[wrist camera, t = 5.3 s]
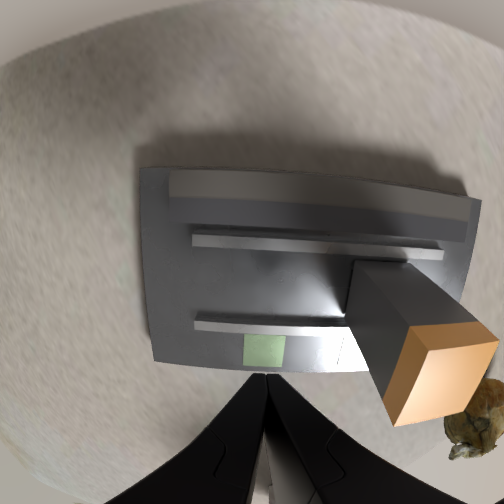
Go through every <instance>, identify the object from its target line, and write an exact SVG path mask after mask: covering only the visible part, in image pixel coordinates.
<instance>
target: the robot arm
mask: <svg viewBox="0 0 504 504" xmlns="http://www.w3.org/2000/svg"><path fill="white" fill-rule="evenodd" d="M263 433H264V437H265V444H266V450H267V456H268V462H269V467H270V473H271V479H272V485H273V490H274V496H275V502H276V504H467V503H465V502H463V501H460V500H458V499H456V498H454V497H452V496H450V495H448V494H446V493H444V492H442V491H440V490H438V489H436V488H434V487H432V486H430V485H428V484H426V483H424V482H423V481H421V480H418V479H417V478H415V477H413V476H412V475H410V474H408V473H406V472H404V471H403V470H401V469H399V468H397V467H396V466H394V465H392V464H391V463H389V462H387V461H386V460H384V459H382V458H381V457H379V456H377V455H376V454H374V453H373V452H371V451H370V450H368V449H366V448H365V447H364V446H362V445H361V444H359V443H358V442H357V441H355V440H354V439H353V438H351V437H350V436H349V435H348V434H346V433H345V432H344V431H343V430H342V429H340V428H338V427H337V426H336V425H335V424H334V423H333V422H332V421H330V420H329V419H328V418H327V417H326V416H325V415H324V414H322V413H321V412H320V411H319V410H318V409H317V408H316V407H315V406H313V405H312V404H311V403H310V402H309V401H308V400H307V399H306V398H304V397H303V396H302V395H301V394H300V393H299V392H298V391H297V390H296V389H295V388H294V387H292V386H291V385H290V384H289V383H288V382H287V381H286V380H285V379H284V378H283V377H282V376H281V375H279V374H267V375H265V374H263V373H253V374H252V375H251V376H250V377H249V378H248V380H247V381H246V382H245V383H244V384H243V386H242V387H241V388H240V389H239V390H238V392H237V393H236V394H235V395H234V396H233V397H232V399H231V400H230V401H229V402H228V403H227V404H226V405H225V407H224V408H223V409H222V410H221V411H220V412H219V413H218V415H217V416H216V417H215V418H214V419H213V420H212V421H211V422H210V424H209V425H208V426H207V427H206V428H205V429H204V430H203V431H202V432H201V433H200V434H199V435H198V436H197V437H196V438H195V439H194V440H193V441H192V442H191V443H190V444H189V445H188V446H186V447H185V448H184V449H183V450H182V451H180V452H179V453H178V454H177V455H175V456H174V457H173V458H171V459H170V460H169V461H167V462H166V463H164V464H163V465H162V466H160V467H159V468H157V469H156V470H155V471H153V472H152V473H150V474H149V475H148V476H146V477H145V478H143V479H142V480H140V481H139V482H137V483H136V484H134V485H133V486H131V487H130V488H128V489H127V490H125V491H124V492H122V493H120V494H119V495H117V496H116V497H114V498H112V499H111V500H109V501H108V502H106V503H104V504H251V501H252V496H253V491H254V486H255V480H256V475H257V469H258V464H259V458H260V452H261V446H262V440H263ZM495 504H504V498H503V499H502V500H500V501H498V502H497V503H495Z"/></svg>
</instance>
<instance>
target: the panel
mask: <svg viewBox="0 0 504 504" xmlns="http://www.w3.org/2000/svg"><path fill="white" fill-rule="evenodd" d="M172 169H221V170H247V171H266V172H281V173H295V174H307V175H318V176H328V177H338V178H347V179H355V180H363V181H371V182H379V183H386V184H393V185H399V186H406V187H412V188H418V189H424V190H429V191H435V192H440V193H446V194H451V195H456V196H461V197H464V198H468V199H471V200H472V201H471V208H470V215H469V221H468V227H467V232H466V238H465V243H462V242H452V241H442V240H432V239H422V238H411V237H399V236H388V235H376V234H363V233H350V232H337V231H323V230H308V229H292V228H276V227H259V226H240V225H220V224H198V223H173V222H169V170H172ZM481 202H482V200H479V199H476V198H472V197H469V196H464V195H459V194H454V193H449V192H444V191H439V190H434V189H428V188H422V187H417V186H411V185H404V184H398V183H391V182H385V181H378V180H370V179H362V178H354V177H346V176H337V175H327V174H317V173H306V172H294V171H281V170H265V169H246V168H219V167H147V168H140V221H141V243H142V259H143V273H144V284H145V295H146V304H147V313H148V322H149V329H150V337H151V344H152V351H153V357H154V361H156V362H163V363H171V364H179V365H187V366H196V367H206V368H217V369H229V370H245V371H265V372H347V371H367V370H369V369H368V367H367V365H366V363H365V361H364V358H363V356H362V354H361V352H360V350H359V348H358V346H357V343H356V341H355V339H354V337H353V335H352V333H351V331H350V329H349V327H348V325H347V323H346V320H345V318H344V317H345V312H346V307H347V302H348V297H349V291H350V286H351V280H352V275H353V269H354V263H355V260H362V261H381V262H400V263H411V264H412V265H413V266H415V267H416V268H417V269H418V270H420V271H421V272H422V273H423V274H425V275H426V276H427V277H428V278H430V279H431V280H432V281H433V282H434V283H436V284H437V285H438V286H439V287H440V288H442V289H443V290H444V291H445V292H446V293H448V294H449V295H450V296H451V297H452V298H453V299H455V300H456V301H457V302H458V303H459V302H460V298H461V295H462V292H463V288H464V285H465V281H466V277H467V273H468V270H469V266H470V261H471V257H472V253H473V248H474V243H475V238H476V233H477V228H478V222H479V216H480V209H481Z"/></svg>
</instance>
